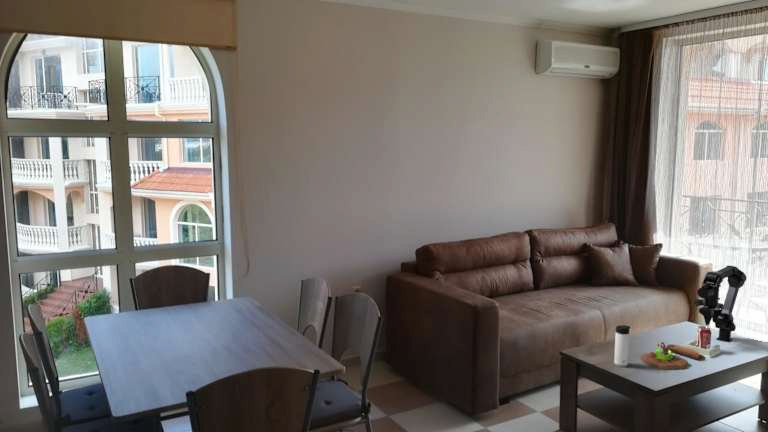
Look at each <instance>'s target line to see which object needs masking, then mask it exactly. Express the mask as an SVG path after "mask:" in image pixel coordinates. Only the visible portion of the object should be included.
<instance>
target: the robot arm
mask: <svg viewBox="0 0 768 432" xmlns="http://www.w3.org/2000/svg"><path fill="white" fill-rule="evenodd" d="M725 278H727V280H726V281H727V284H728V289H727V292H726V296H725V298H724V302H723V303H721V302H719V301H720V299H721V298H720V287H722V285H721V283H723V282H724V279H725ZM746 281H747V275H746V273H744V272H743V271H742V270H740V268H738V266H735V265H726V266H725V267H724V268H722V269H721V268H720V269H719V270H717V271H714V270H713V271H708V272H706V273H705V275H704V277H703V279H702V282H701V287H700V288H698V289H697V295H698V297H699V298H696V299H694V300H693V305H694V306H695V307H696V308H697V307H700V308H699V309H698V313H699V314H700V315H702V316H703V319H704V324H705V325H706V327H709V325H710V324H711V321H712V323H714V327H715V328H717V329H718V337H716V338H715V339H716V340H718V341H722V342H725V343H729V342H732V341H733V338H732V332H736V327H737V326H736V324H735V322H734V319H735V318H734V316H733V309H734V307H735V305H736V301H737V297H738V293H739V290H740V288H742V287H743V286H745V283H746ZM700 298H701V299H700Z"/></svg>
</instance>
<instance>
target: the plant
mask: <svg viewBox="0 0 768 432" xmlns="http://www.w3.org/2000/svg"><path fill="white" fill-rule="evenodd" d="M669 345H670V344H669ZM674 345H675V344H672V345H670V346H673V348H674V349H676V347H675V346H674ZM656 346H657V347H660V348H661V349H659V348H655V351H654V352H653V351H650V352H645V353H643V354H640V360H641V362H642V363H643V364H645V365H647V366H648V365H649V367H650V368H655V369H658V370H661V371H668V370H669V371H670V370H671V371H672V370H682V369H686V368H687V367H689V361H688V360H686V359H685V358H682V357H680V356H679V355H676V353H672V352H671V351H670V350H669V347H670V346H668V347H667V348H666V344H665V343H664V342H658V343H657V344H656Z"/></svg>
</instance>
